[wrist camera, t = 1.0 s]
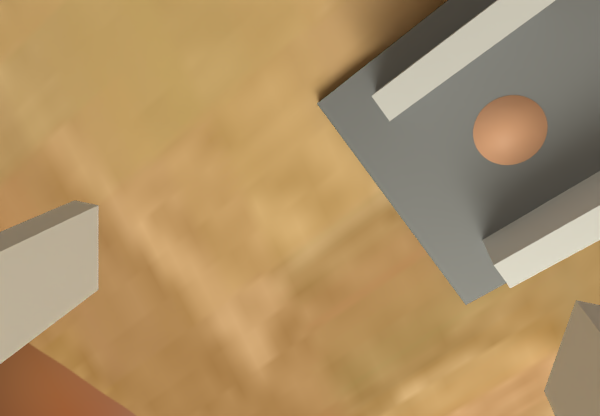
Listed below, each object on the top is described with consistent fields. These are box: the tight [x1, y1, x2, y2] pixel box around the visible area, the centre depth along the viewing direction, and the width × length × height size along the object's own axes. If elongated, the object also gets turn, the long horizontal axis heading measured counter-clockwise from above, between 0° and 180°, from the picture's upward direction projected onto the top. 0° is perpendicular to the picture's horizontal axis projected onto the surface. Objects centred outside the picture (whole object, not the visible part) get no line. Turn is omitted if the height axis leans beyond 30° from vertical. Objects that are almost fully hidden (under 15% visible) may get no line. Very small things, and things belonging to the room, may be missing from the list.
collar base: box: [317, 0, 600, 305], centre depth 33 cm, size 20×20×6 cm
